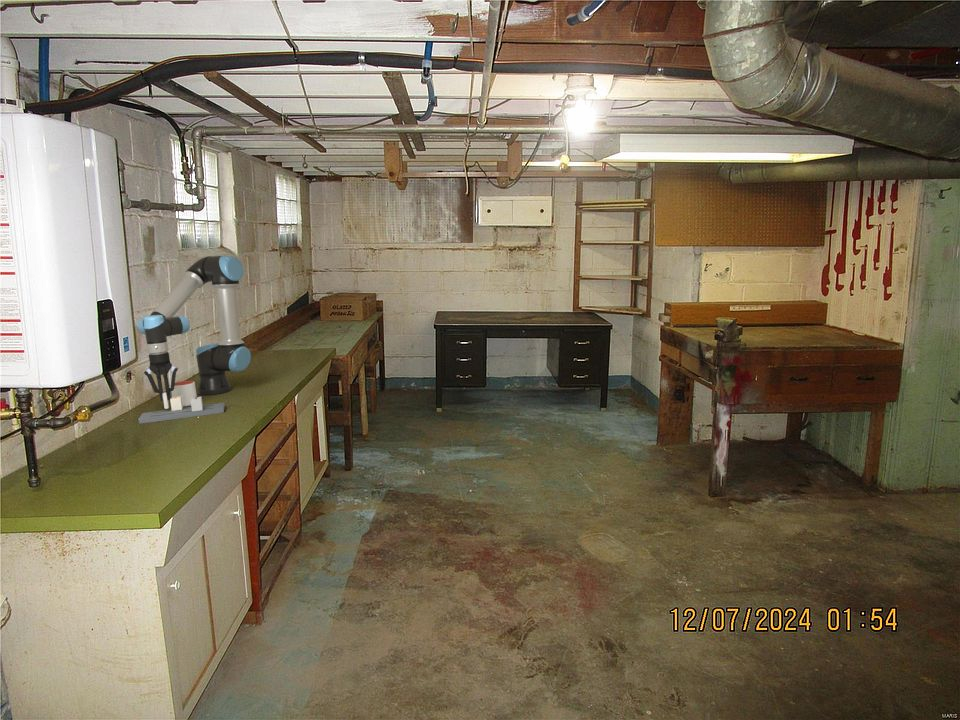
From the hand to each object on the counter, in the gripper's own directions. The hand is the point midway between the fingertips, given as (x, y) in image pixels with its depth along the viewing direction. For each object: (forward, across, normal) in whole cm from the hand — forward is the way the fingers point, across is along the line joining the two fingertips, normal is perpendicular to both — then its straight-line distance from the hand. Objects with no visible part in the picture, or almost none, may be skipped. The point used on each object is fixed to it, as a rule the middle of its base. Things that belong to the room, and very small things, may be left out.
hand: (167, 407), depth 268 cm
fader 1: (+1, +4, 0) cm, 4 cm away
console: (+3, +6, -3) cm, 8 cm away
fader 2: (+1, +12, -6) cm, 14 cm away
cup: (+4, +5, +17) cm, 18 cm away
